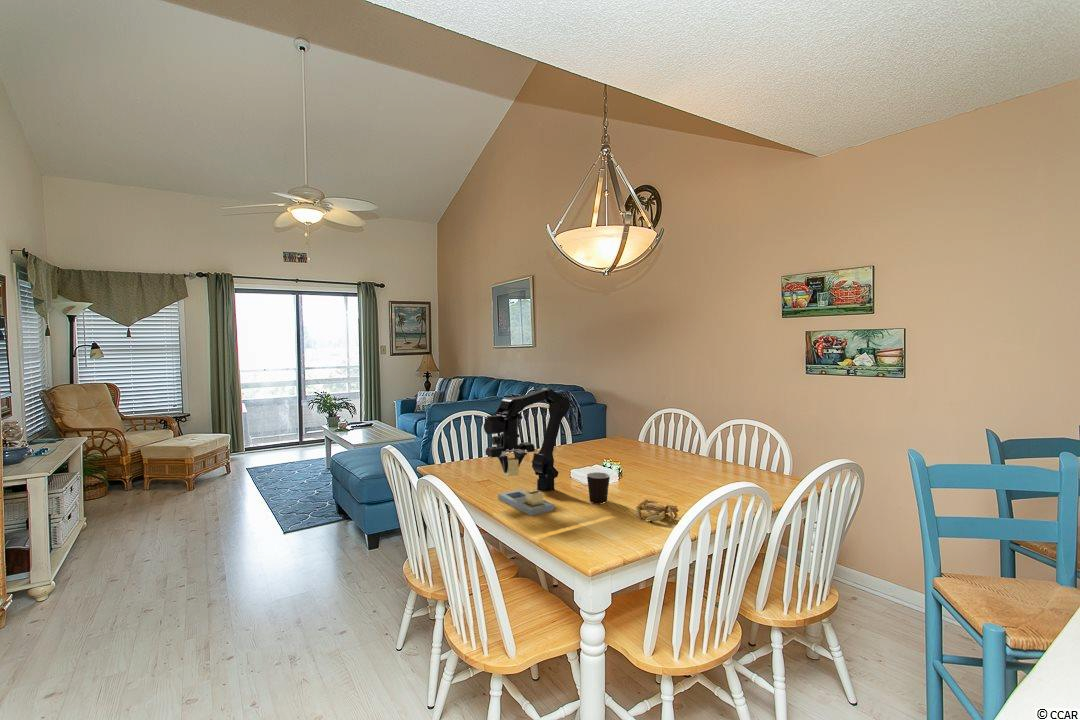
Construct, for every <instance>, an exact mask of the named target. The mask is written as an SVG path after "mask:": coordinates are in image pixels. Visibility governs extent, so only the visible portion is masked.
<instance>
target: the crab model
mask: <svg viewBox="0 0 1080 720" xmlns="http://www.w3.org/2000/svg"><path fill="white" fill-rule="evenodd" d="M647 510H648V511H649V512H650V511H653V512H658V513H659V514H653V515H650V516H648V517H646V518H645V520H648V521H649V520H650V521H654V522H659V521H661V520H662V521H663V520H664V519H665V517H666V516H665V515H666V513H669V516H670V517H669V520H671V521H672V520H676V518H678V513H679V512H680V510H679V509H678V505H671V504H666V505H663V504H660V503H659V502H658V501H653V500H650V499H649V500H648V499H644V500H643V501H641V502H640V503H639V504H637V505H636V507H635V513H636V515H637V517H638V519H640V520H642V519H643V517H641V516H642V511H647ZM673 514H674V515H673ZM641 518H642V519H641ZM673 518H674V519H673ZM669 520H668V521H669Z"/></svg>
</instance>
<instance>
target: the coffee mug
mask: <svg viewBox="0 0 1080 720" xmlns="http://www.w3.org/2000/svg"><path fill="white" fill-rule="evenodd" d="M610 477H611V475H610V474H608V473H606V472H597V471H596V472H594V471H593V472H590V473H587V474H586V479H587V485H588V486H587V488H588V496H589V497H588V498H589V502H590V501H591V502H593V503H592V504H594V503H603V502H606V501H607V502H608V495H609V494H608V493H609V485H610V484H609V483H610V480H611V479H610ZM591 502H590V503H591ZM607 502H606V503H607Z"/></svg>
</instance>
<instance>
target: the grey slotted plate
mask: <svg viewBox="0 0 1080 720" xmlns="http://www.w3.org/2000/svg"><path fill="white" fill-rule="evenodd" d="M526 492H527V491H525V490H523V489H516V490H511V491H507V492H503V493H502V492H500V493H498V494H497V499H498V501H500V502H503V504H504V503H505V504H506V505H508V506H510V507H512V508H514V509H516V510H518V511H519V512H522V513H524V514H526V515H528V516H530V517H532V516H536V515H540V514H544V513H548V512H552V511H554V510H555V505H554V504H553V503H551V502H549V501H547V500H545V499H543V505H540V506H536V507H530V506H528V505H526Z"/></svg>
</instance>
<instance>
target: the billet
mask: <svg viewBox="0 0 1080 720" xmlns="http://www.w3.org/2000/svg"><path fill="white" fill-rule="evenodd" d="M502 475H504V476H506V477H507V478H508V477H514V476H519V468H518V459H516V458H515V456H514V457H513V456H511V457H508V458H507V471H506V473H504V471H503V470H502Z"/></svg>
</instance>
